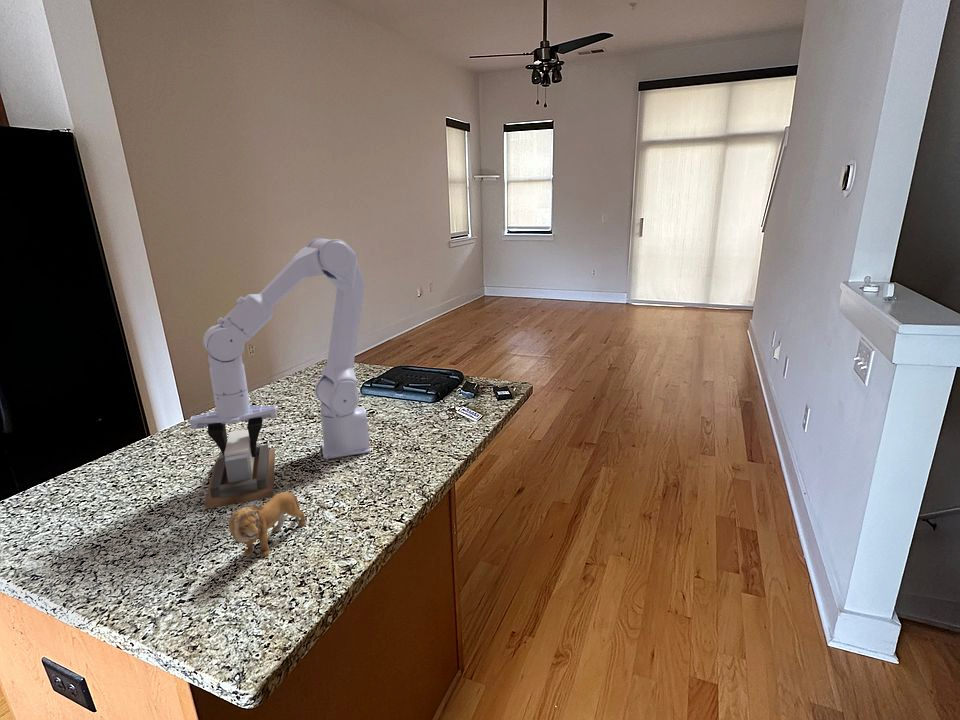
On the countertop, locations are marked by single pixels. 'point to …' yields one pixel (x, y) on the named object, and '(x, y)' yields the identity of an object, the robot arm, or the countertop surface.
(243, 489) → the cradle jig
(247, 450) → the white pillar grey cap
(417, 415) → the countertop surface
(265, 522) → the lion figurine
